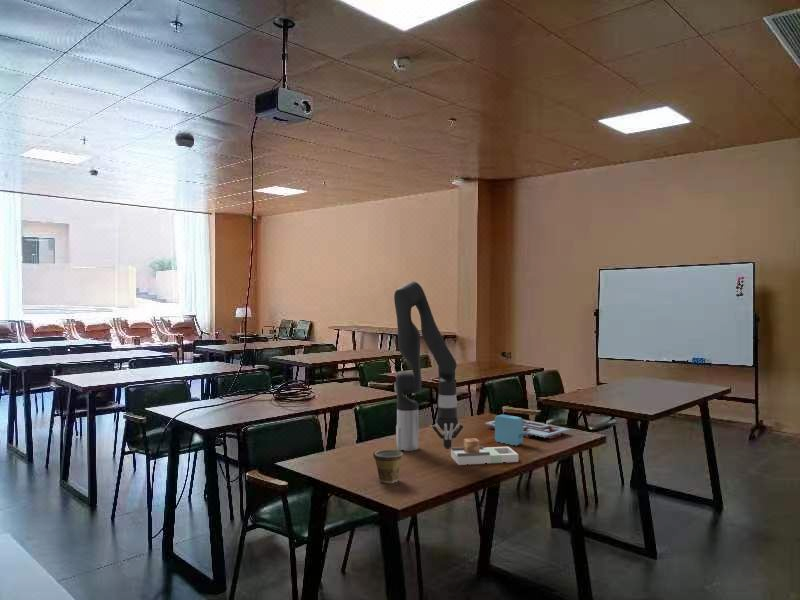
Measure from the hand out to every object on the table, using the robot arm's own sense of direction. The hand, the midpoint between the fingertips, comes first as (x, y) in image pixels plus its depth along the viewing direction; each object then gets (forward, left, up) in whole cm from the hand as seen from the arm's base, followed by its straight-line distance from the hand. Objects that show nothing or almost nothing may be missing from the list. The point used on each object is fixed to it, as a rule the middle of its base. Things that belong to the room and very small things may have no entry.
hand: (447, 448), depth 233 cm
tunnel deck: (+15, 0, -5) cm, 16 cm away
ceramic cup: (-27, -19, -5) cm, 34 cm away
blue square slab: (+34, +22, -5) cm, 40 cm away
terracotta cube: (+10, 0, -2) cm, 10 cm away
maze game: (+49, +41, -6) cm, 64 cm away
